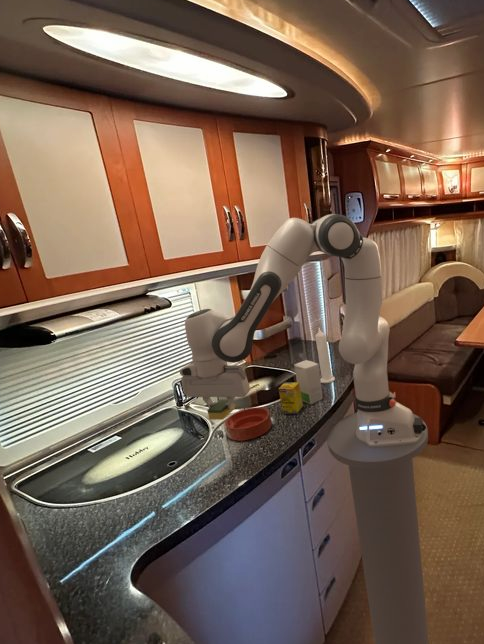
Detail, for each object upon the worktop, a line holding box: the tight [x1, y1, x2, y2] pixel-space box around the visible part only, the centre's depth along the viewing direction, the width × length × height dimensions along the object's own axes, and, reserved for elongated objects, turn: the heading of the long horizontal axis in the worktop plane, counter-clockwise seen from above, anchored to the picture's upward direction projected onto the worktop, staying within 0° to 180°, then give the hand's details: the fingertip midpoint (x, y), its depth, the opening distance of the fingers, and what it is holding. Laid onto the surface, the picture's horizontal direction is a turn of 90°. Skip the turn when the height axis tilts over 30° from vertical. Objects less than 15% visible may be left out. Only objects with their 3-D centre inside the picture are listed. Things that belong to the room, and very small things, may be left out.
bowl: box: [224, 406, 273, 442], centre depth 132 cm, size 15×15×5 cm
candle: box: [314, 327, 336, 384], centre depth 166 cm, size 7×7×25 cm
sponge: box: [206, 399, 236, 421], centre depth 112 cm, size 4×7×3 cm, turn 168°
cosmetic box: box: [293, 359, 324, 405], centre depth 150 cm, size 8×7×16 cm
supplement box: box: [278, 381, 304, 416], centre depth 142 cm, size 6×6×11 cm
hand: (221, 408), depth 112 cm, fingers closed on sponge, 4 cm apart
